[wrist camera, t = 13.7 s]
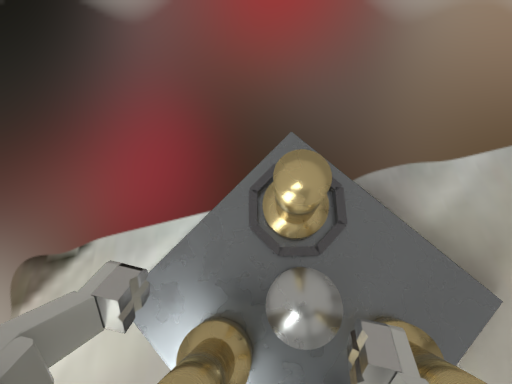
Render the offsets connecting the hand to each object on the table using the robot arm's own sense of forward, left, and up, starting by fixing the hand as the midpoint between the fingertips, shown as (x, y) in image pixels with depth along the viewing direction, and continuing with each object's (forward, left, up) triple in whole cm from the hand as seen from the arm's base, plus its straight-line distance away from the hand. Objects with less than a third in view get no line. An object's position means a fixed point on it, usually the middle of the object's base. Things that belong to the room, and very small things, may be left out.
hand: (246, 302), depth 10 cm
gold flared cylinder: (+3, -7, -15) cm, 17 cm away
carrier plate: (-3, -1, -16) cm, 17 cm away
